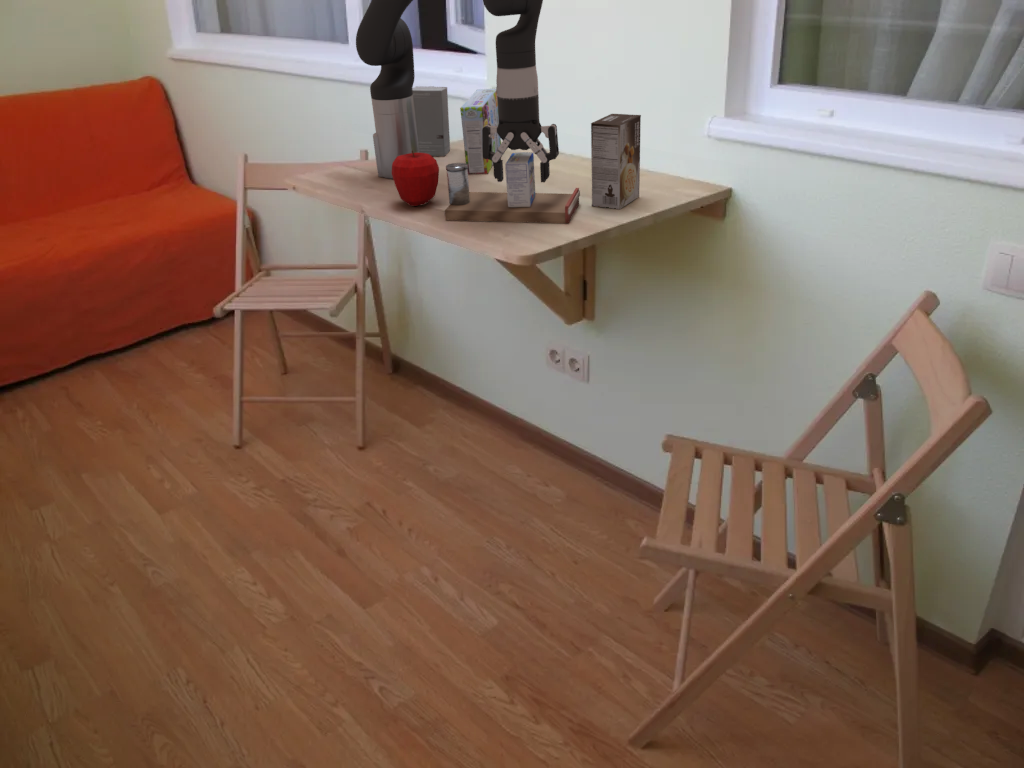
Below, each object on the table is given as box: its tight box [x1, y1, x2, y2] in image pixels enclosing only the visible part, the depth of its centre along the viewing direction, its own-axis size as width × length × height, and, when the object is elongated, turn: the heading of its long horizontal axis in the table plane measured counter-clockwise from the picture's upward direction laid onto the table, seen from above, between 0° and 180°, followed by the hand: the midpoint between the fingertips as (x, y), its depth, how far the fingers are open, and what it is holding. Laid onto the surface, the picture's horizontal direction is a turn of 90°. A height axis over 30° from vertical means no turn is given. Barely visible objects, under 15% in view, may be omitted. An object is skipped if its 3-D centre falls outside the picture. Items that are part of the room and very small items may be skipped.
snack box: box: [459, 88, 502, 175], centre depth 191 cm, size 21×6×15 cm, turn 172°
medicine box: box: [504, 151, 536, 208], centre depth 156 cm, size 8×4×9 cm, turn 171°
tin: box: [445, 162, 470, 205], centre depth 159 cm, size 4×4×7 cm
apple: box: [392, 150, 440, 207], centre depth 165 cm, size 10×10×11 cm
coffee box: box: [590, 113, 642, 210], centre depth 158 cm, size 9×6×16 cm
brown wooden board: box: [444, 187, 581, 224], centre depth 159 cm, size 24×12×3 cm, turn 76°
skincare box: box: [412, 85, 451, 157], centre depth 201 cm, size 8×7×16 cm
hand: (521, 181), depth 156 cm, fingers open, 8 cm apart
